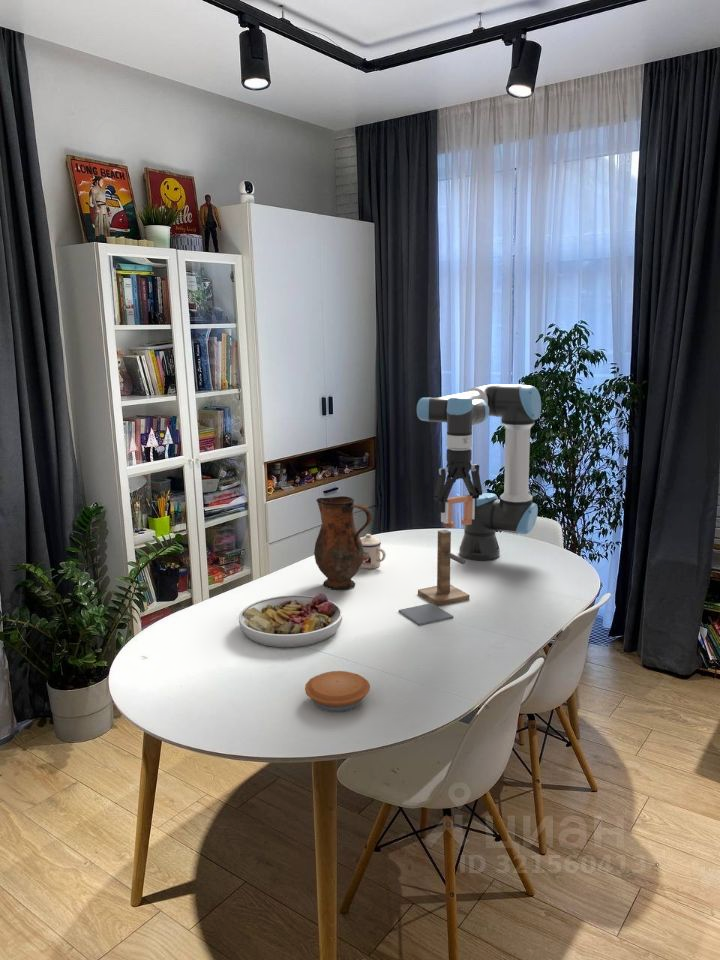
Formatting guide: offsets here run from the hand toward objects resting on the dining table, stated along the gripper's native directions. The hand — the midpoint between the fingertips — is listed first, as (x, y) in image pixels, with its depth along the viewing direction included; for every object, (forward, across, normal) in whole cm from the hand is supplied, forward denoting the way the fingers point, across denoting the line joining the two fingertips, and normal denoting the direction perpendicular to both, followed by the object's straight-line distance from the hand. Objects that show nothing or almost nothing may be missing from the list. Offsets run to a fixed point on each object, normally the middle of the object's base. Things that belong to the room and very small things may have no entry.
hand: (457, 520), depth 233 cm
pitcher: (+28, -24, +32) cm, 48 cm away
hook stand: (+27, 0, +5) cm, 28 cm away
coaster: (+27, -13, -2) cm, 30 cm away
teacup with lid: (+28, -6, +46) cm, 54 cm away
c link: (+2, 0, 0) cm, 2 cm away
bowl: (+28, -53, +8) cm, 60 cm away
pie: (+28, -59, -36) cm, 75 cm away
